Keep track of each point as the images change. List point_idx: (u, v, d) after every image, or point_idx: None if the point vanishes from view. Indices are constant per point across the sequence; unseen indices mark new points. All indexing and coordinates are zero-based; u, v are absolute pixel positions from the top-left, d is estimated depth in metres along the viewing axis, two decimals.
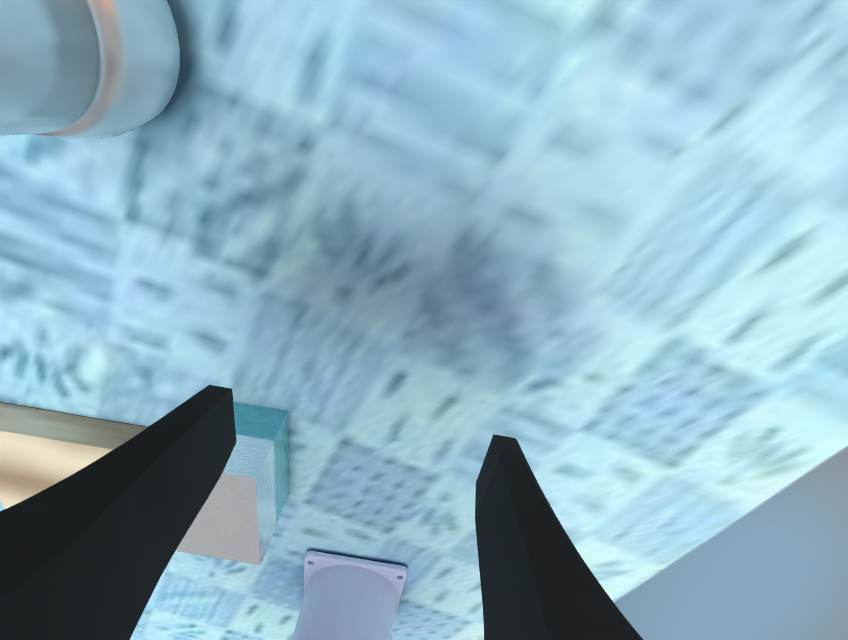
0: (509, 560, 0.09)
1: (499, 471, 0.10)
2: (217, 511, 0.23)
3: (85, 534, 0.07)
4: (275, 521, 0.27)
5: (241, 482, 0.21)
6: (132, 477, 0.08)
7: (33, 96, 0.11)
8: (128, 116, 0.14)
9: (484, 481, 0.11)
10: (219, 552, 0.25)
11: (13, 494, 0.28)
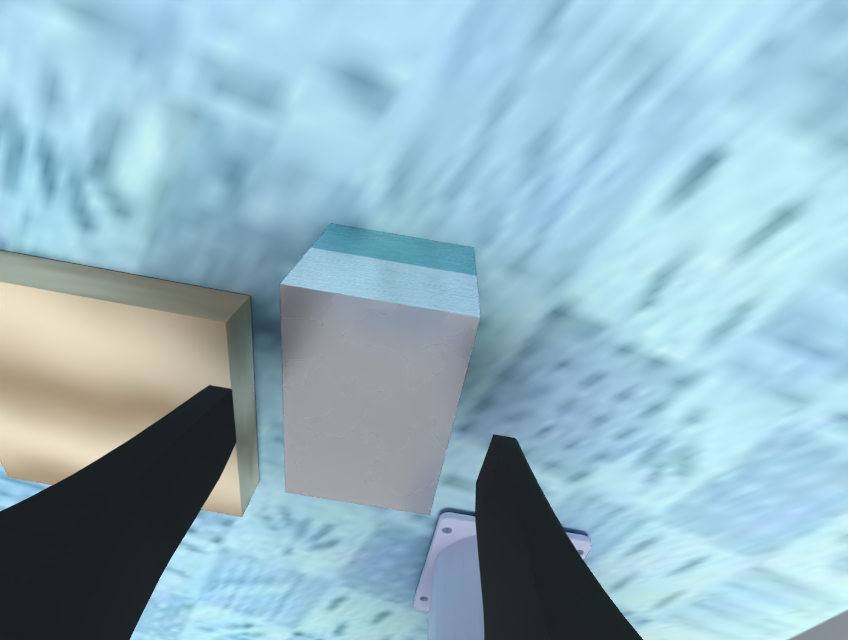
0: (509, 560, 0.09)
1: (499, 471, 0.10)
2: (381, 403, 0.12)
3: (85, 534, 0.07)
4: None
5: (448, 329, 0.11)
6: (132, 477, 0.08)
7: None
8: None
9: (484, 481, 0.11)
10: (361, 492, 0.14)
11: (0, 409, 0.17)
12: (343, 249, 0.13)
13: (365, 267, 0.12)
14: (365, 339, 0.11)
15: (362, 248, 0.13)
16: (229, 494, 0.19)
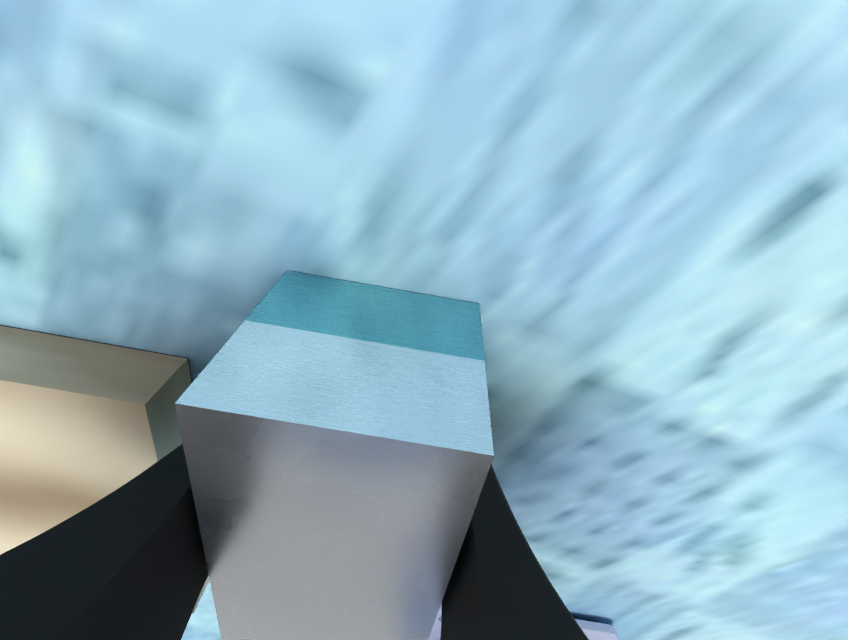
0: (462, 552, 0.09)
1: None
2: (344, 552, 0.08)
3: (147, 544, 0.07)
4: None
5: (443, 468, 0.07)
6: (185, 486, 0.08)
7: None
8: None
9: None
10: None
11: None
12: (293, 320, 0.09)
13: (321, 355, 0.08)
14: (315, 477, 0.07)
15: (322, 318, 0.09)
16: None
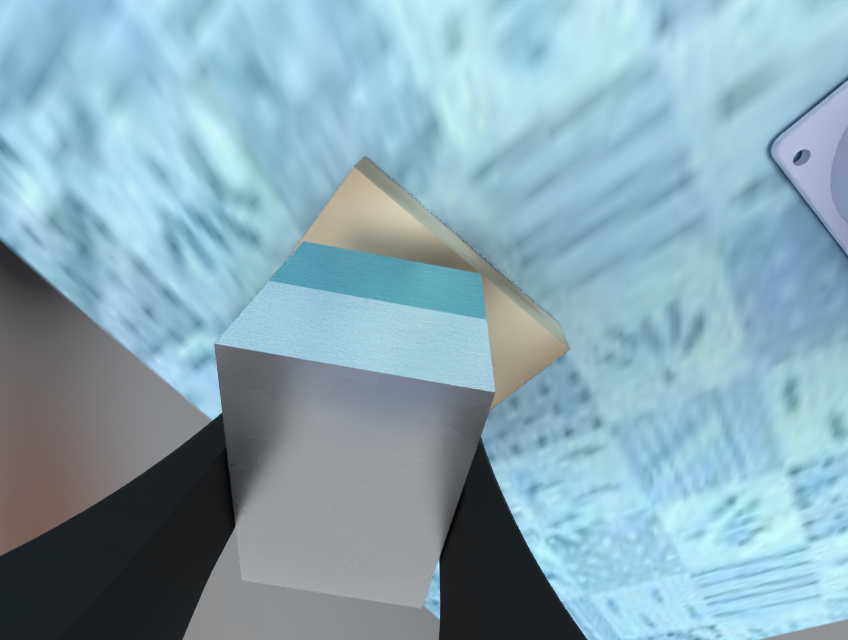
0: (460, 552, 0.09)
1: None
2: (359, 489, 0.09)
3: (149, 544, 0.07)
4: None
5: (450, 405, 0.08)
6: (187, 486, 0.08)
7: None
8: None
9: None
10: (336, 583, 0.11)
11: None
12: (313, 282, 0.10)
13: (339, 311, 0.09)
14: (337, 415, 0.08)
15: (338, 281, 0.10)
16: (534, 335, 0.17)
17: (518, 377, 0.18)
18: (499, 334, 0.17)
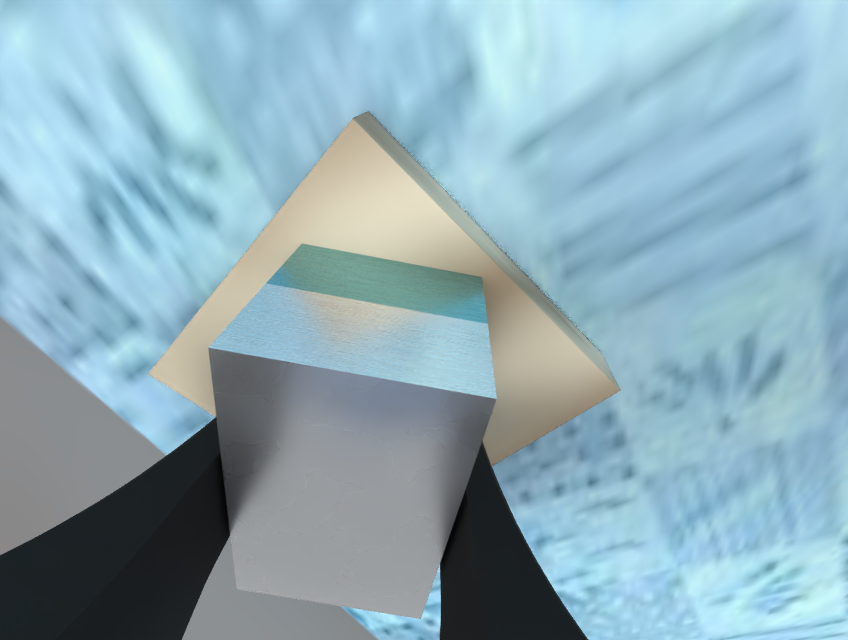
0: (461, 552, 0.09)
1: None
2: (357, 497, 0.09)
3: (148, 544, 0.07)
4: None
5: (450, 411, 0.07)
6: (186, 486, 0.08)
7: None
8: None
9: None
10: (333, 592, 0.11)
11: None
12: (310, 284, 0.10)
13: (337, 314, 0.09)
14: (333, 421, 0.08)
15: (336, 284, 0.10)
16: (577, 369, 0.13)
17: (548, 420, 0.14)
18: (531, 365, 0.13)
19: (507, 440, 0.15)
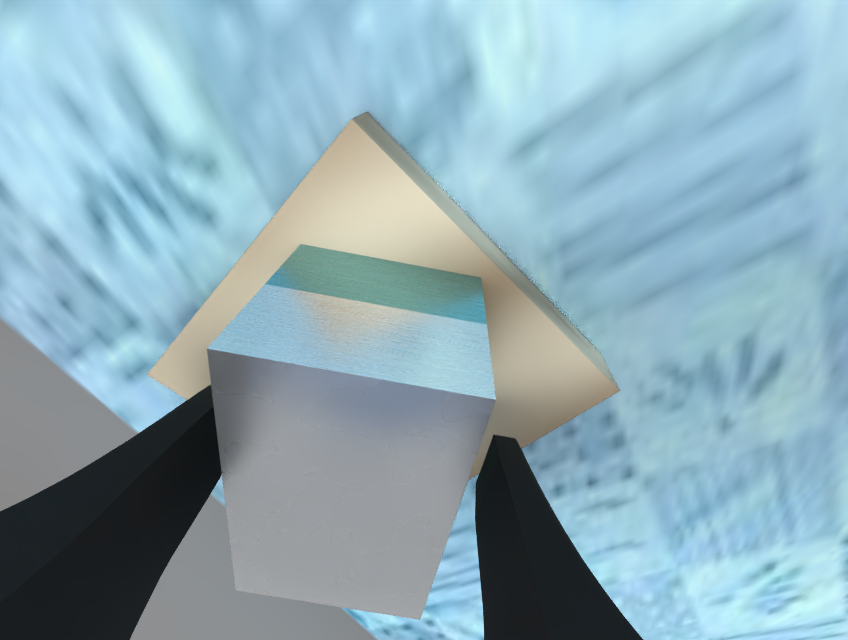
0: (509, 560, 0.09)
1: (499, 471, 0.10)
2: (355, 498, 0.09)
3: (85, 534, 0.07)
4: None
5: (449, 412, 0.07)
6: (132, 477, 0.08)
7: None
8: None
9: (484, 481, 0.11)
10: (332, 593, 0.11)
11: None
12: (309, 285, 0.10)
13: (336, 315, 0.09)
14: (332, 422, 0.08)
15: (336, 284, 0.10)
16: (577, 370, 0.13)
17: (547, 421, 0.14)
18: (530, 366, 0.13)
19: None
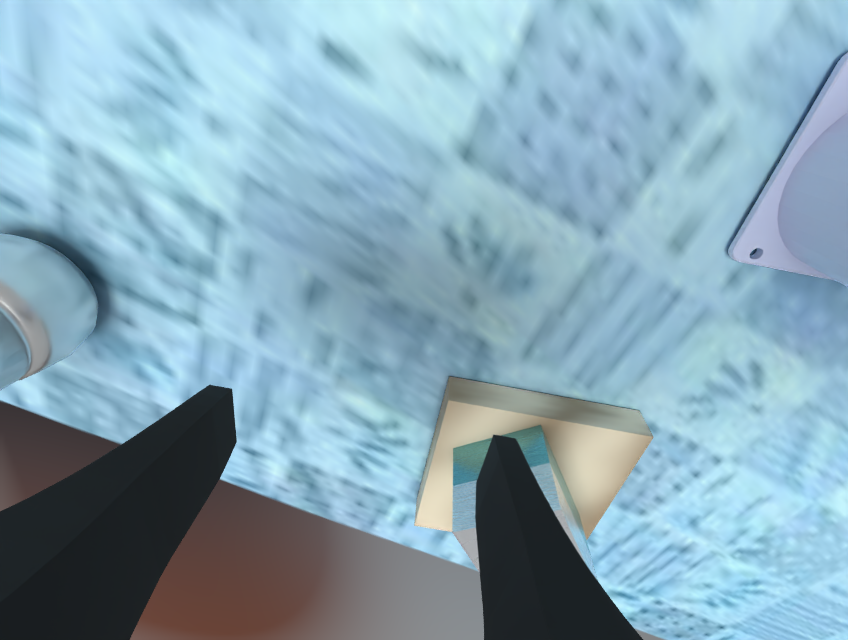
0: (509, 560, 0.09)
1: (499, 471, 0.10)
2: None
3: (85, 534, 0.07)
4: (588, 549, 0.23)
5: None
6: (132, 477, 0.08)
7: None
8: (23, 278, 0.18)
9: (484, 481, 0.11)
10: None
11: None
12: (469, 476, 0.21)
13: None
14: None
15: (478, 470, 0.21)
16: (621, 438, 0.22)
17: (625, 466, 0.23)
18: (594, 447, 0.23)
19: (611, 484, 0.24)
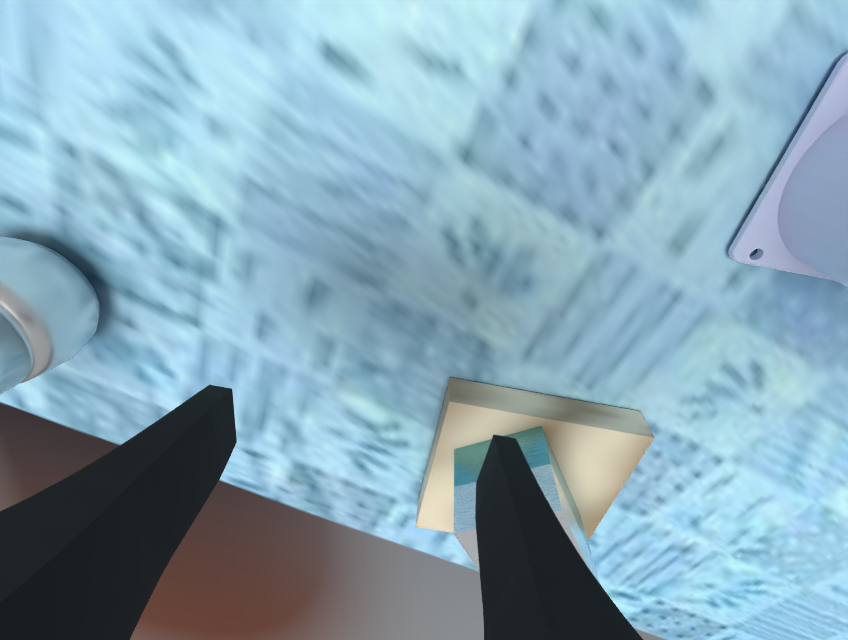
0: (509, 560, 0.09)
1: (499, 471, 0.10)
2: None
3: (85, 534, 0.07)
4: (589, 550, 0.23)
5: None
6: (132, 477, 0.08)
7: None
8: (25, 281, 0.18)
9: (484, 481, 0.11)
10: None
11: None
12: (470, 477, 0.21)
13: None
14: None
15: None
16: (622, 439, 0.22)
17: (626, 467, 0.23)
18: (595, 448, 0.23)
19: (612, 484, 0.24)
